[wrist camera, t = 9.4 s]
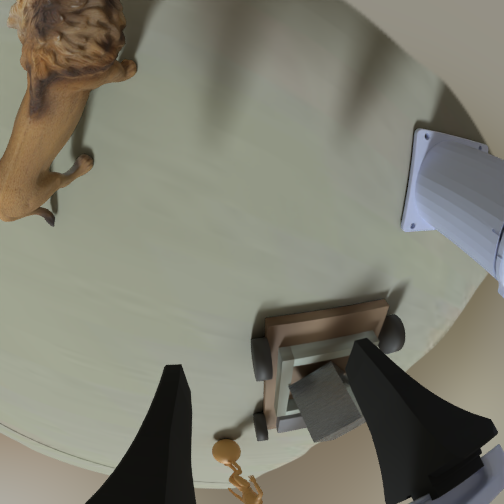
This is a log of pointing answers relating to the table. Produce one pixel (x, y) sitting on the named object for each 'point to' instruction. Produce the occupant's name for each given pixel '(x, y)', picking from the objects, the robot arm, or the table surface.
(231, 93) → the table surface
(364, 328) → the toy car chassis
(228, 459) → the figurine
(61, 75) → the lion figurine
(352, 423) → the brushed grey box
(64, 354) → the table surface
